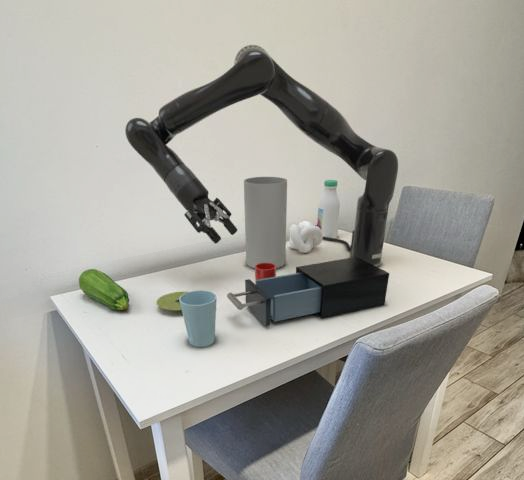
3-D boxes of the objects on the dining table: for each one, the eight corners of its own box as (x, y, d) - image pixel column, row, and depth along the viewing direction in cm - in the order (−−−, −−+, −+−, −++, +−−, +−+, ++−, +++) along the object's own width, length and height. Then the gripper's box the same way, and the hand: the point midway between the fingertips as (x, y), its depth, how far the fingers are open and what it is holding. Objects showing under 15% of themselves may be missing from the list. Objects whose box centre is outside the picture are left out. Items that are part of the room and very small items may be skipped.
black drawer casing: (321, 319, 101) (323, 285, 97) (294, 297, 112) (296, 266, 107) (384, 305, 108) (389, 273, 103) (353, 286, 118) (357, 256, 114)
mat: (153, 302, 110) (152, 295, 109) (195, 295, 114) (194, 288, 113) (162, 320, 101) (161, 313, 100) (207, 311, 105) (207, 304, 104)
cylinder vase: (261, 254, 142) (260, 175, 129) (292, 262, 136) (295, 179, 123) (238, 265, 133) (234, 181, 120) (270, 273, 127) (270, 185, 114)
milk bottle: (339, 235, 161) (344, 179, 150) (333, 241, 155) (338, 183, 144) (320, 233, 163) (323, 178, 153) (313, 238, 157) (317, 181, 147)
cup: (177, 339, 93) (172, 296, 87) (206, 329, 97) (203, 287, 92) (196, 353, 88) (191, 308, 83) (226, 341, 92) (223, 298, 87)
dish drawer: (242, 331, 94) (241, 303, 91) (224, 309, 104) (222, 283, 100) (331, 312, 102) (334, 286, 99) (306, 293, 112) (308, 269, 108)
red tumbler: (252, 292, 115) (251, 264, 111) (270, 289, 117) (270, 261, 113) (260, 300, 111) (260, 271, 107) (278, 296, 113) (279, 267, 108)
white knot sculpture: (310, 257, 139) (311, 230, 134) (278, 251, 144) (279, 225, 140) (325, 248, 147) (327, 222, 142) (295, 243, 153) (295, 218, 148)
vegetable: (89, 260, 113) (127, 281, 101) (105, 279, 118) (143, 301, 106) (68, 278, 111) (104, 301, 98) (85, 297, 116) (122, 321, 104)
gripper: (177, 182, 101) (221, 235, 103) (209, 173, 112) (248, 221, 114) (162, 202, 106) (204, 253, 108) (194, 192, 117) (232, 238, 118)
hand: (227, 237), depth 111 cm, fingers open, 8 cm apart
